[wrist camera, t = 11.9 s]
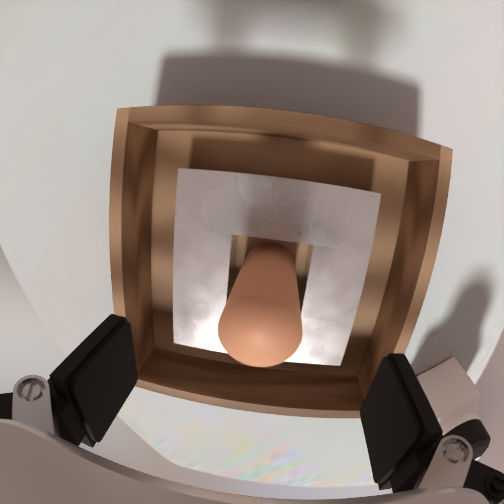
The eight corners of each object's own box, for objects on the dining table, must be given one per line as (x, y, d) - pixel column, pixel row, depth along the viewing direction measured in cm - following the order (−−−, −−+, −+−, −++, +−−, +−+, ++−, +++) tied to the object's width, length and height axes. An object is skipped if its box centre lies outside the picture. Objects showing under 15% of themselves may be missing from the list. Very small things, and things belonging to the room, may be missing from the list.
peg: (246, 238, 22) (220, 289, 13) (298, 245, 22) (310, 301, 12) (241, 286, 23) (215, 360, 14) (290, 293, 23) (294, 371, 13)
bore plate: (189, 168, 21) (178, 168, 19) (370, 191, 20) (381, 193, 18) (182, 328, 25) (173, 342, 23) (335, 349, 24) (340, 365, 22)
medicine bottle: (399, 382, 26) (434, 465, 14) (453, 354, 24) (503, 424, 13) (406, 417, 27) (432, 490, 16) (454, 392, 26) (491, 457, 14)
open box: (153, 121, 21) (117, 108, 16) (415, 152, 20) (452, 149, 14) (150, 348, 27) (125, 383, 22) (361, 377, 26) (373, 417, 20)
